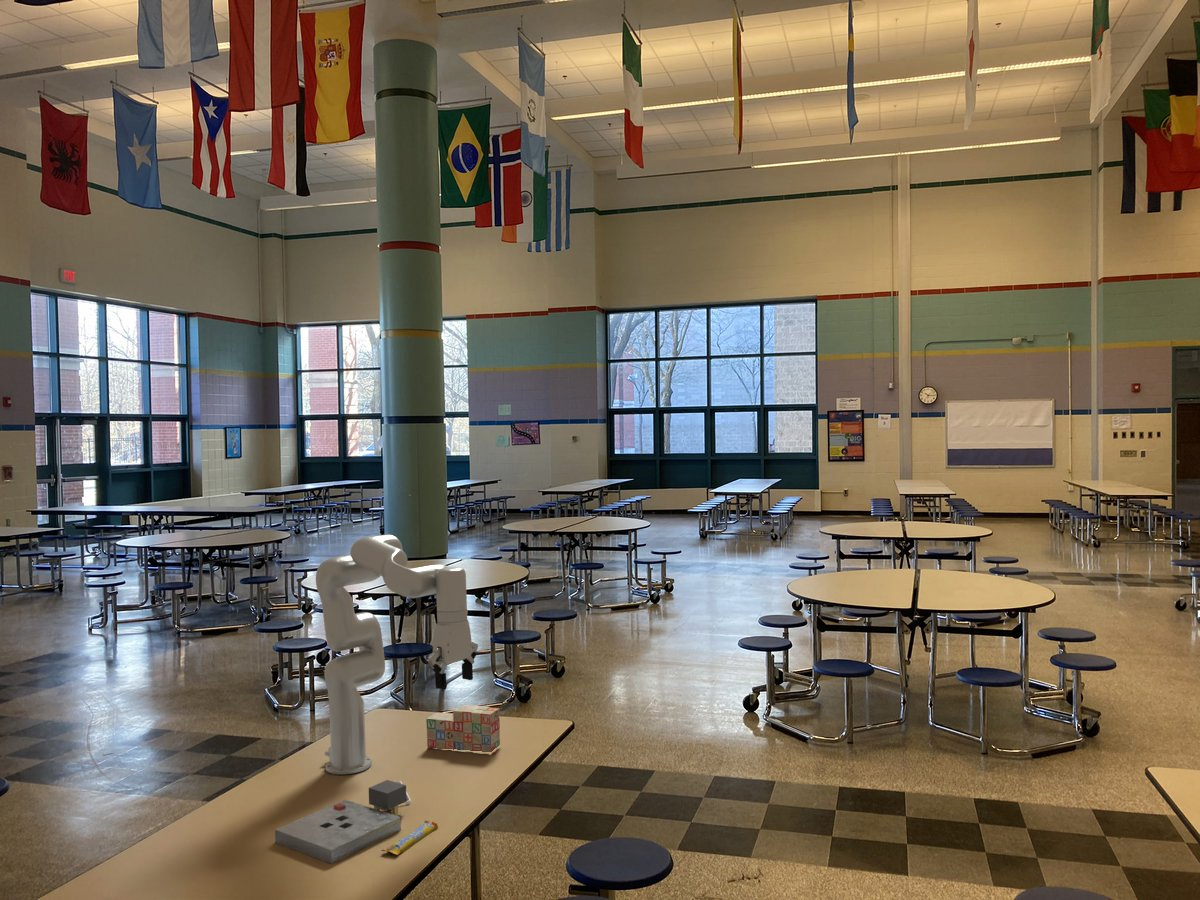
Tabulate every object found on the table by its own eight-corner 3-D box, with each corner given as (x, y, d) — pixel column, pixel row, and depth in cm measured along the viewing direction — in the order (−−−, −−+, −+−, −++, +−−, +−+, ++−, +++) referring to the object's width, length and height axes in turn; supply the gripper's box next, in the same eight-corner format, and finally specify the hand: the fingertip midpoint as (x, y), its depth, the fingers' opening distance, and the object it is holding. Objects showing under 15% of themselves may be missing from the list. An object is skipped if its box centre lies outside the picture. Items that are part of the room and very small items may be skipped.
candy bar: (425, 826, 213) (425, 818, 213) (440, 829, 211) (440, 821, 211) (380, 856, 198) (380, 848, 197) (396, 860, 196) (395, 851, 196)
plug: (362, 812, 221) (361, 785, 221) (381, 803, 226) (380, 777, 226) (388, 820, 215) (387, 793, 215) (406, 811, 220) (406, 785, 220)
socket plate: (275, 842, 205) (274, 827, 205) (345, 811, 222) (344, 797, 222) (331, 863, 194) (331, 847, 194) (401, 829, 210) (400, 814, 210)
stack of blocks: (426, 749, 266) (425, 708, 266) (437, 742, 272) (436, 702, 272) (491, 755, 259) (490, 713, 259) (500, 748, 265) (499, 707, 265)
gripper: (464, 609, 235) (466, 674, 235) (416, 621, 221) (419, 690, 221) (486, 611, 231) (488, 677, 231) (439, 624, 216) (441, 694, 216)
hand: (454, 683), depth 226 cm, fingers open, 9 cm apart
